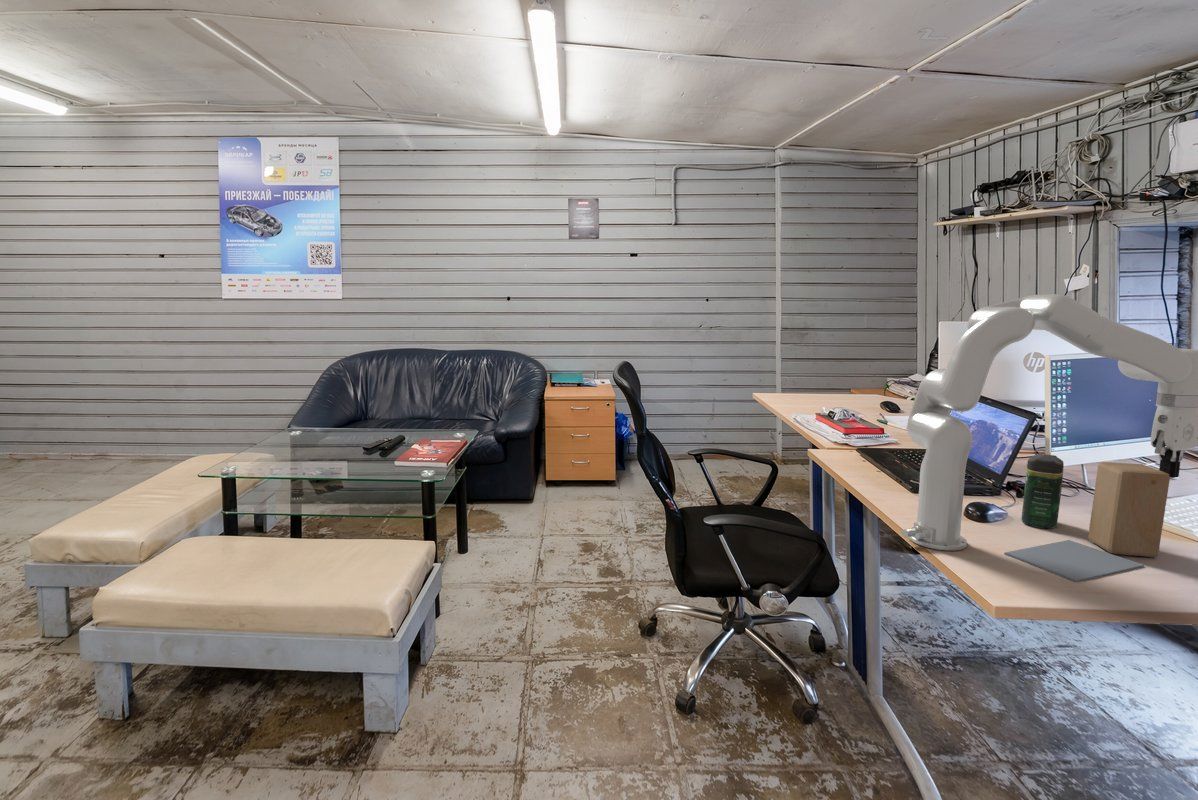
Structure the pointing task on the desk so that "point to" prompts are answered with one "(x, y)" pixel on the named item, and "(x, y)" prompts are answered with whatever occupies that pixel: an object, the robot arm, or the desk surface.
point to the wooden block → (1128, 508)
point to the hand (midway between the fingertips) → (1168, 476)
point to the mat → (1073, 560)
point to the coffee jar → (1042, 491)
